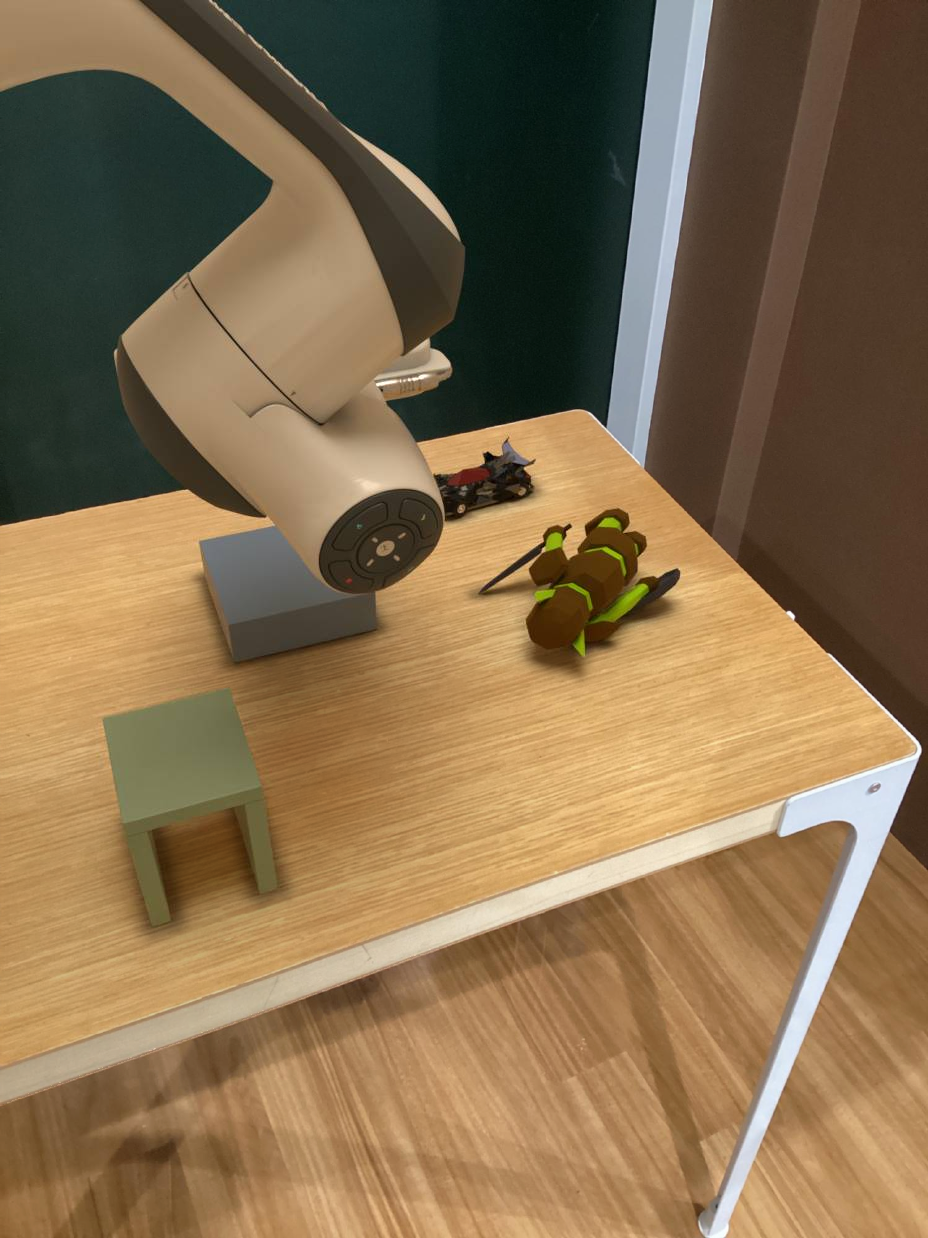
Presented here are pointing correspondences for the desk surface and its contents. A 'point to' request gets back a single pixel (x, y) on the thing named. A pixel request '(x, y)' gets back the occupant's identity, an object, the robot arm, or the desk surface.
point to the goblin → (587, 582)
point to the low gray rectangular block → (276, 596)
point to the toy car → (485, 482)
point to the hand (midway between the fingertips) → (252, 317)
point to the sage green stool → (185, 782)
